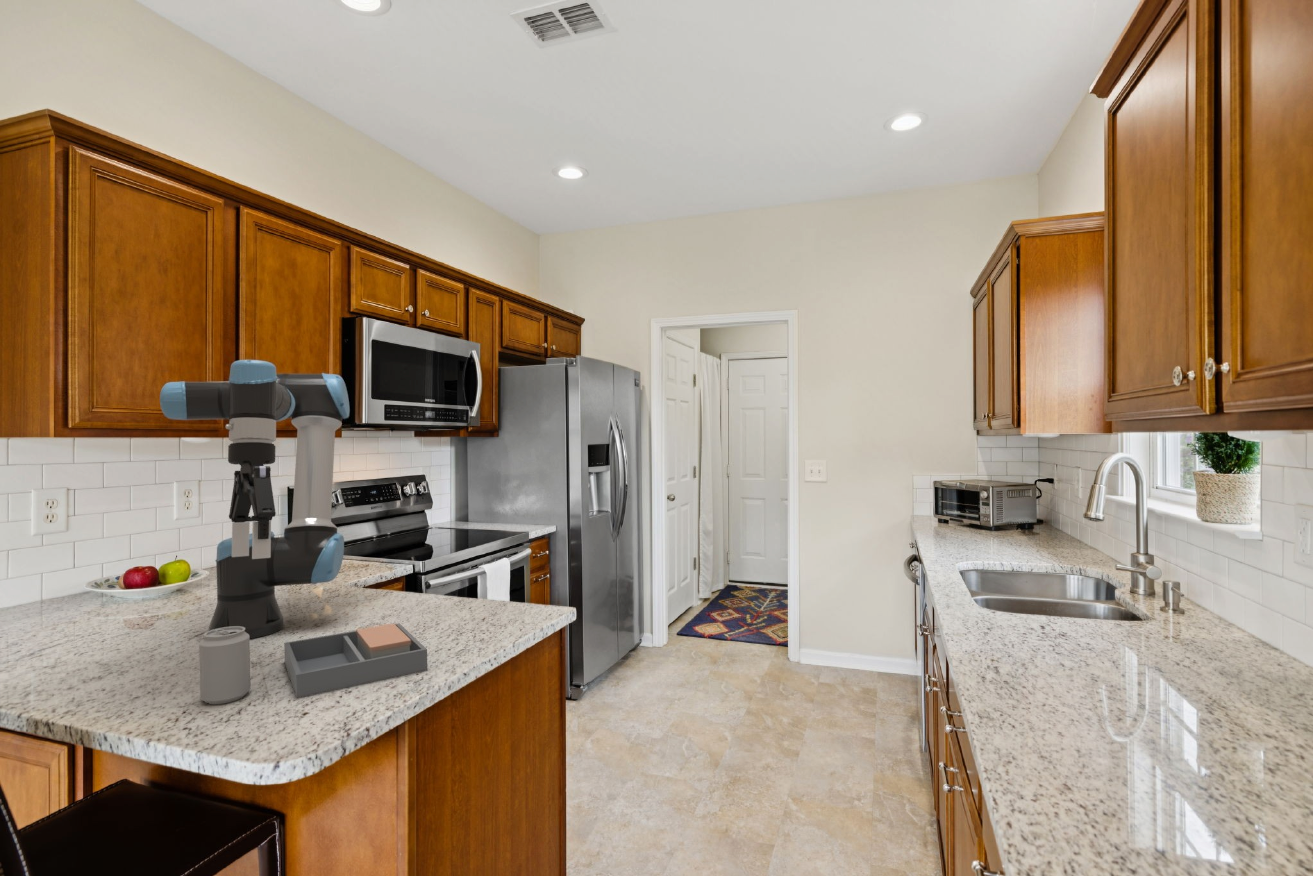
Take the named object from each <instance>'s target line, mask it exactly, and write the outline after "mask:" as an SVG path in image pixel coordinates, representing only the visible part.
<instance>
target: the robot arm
mask: <svg viewBox="0 0 1313 876" xmlns="http://www.w3.org/2000/svg"><path fill="white" fill-rule="evenodd" d="M229 372H230V373H229V377H228V381H227V380H226V381H185V380H183V381H170V382H169V381H168V382H167V383H165V384H164V385H163V386H162V388H161V390H160V392H159V404H160V409H161V412H162V413H163V415H164V417H166V418H168V419H169V420H180V421H181V420H182V421H193V420H195V421H198V420H199V421H200V420H203V421H205V420H229V423H226V424H225V429H226V430H229V431H228V440H229V441H231V442H232V443H230V444H229V445H228V449H227V451H228V453H227V461H228V463H229V464H231V465H239V466H240V470H234V473H233V476H234V478H233V488H232V493H231V494H232V495H231V502H230V509H229V514H228V519H229V520H231V522H232V523H231V524H232V525H231V526H232V527H231V537H229V538H226V539H223V540H221V541H220V542H219V543H218V544H217V547H216V559H215V563H216V566H215V567H216V594H217V595H216V596H217V598H216V599H217V602H216V607H215V609H214V612H213V615H212V617H211V622H210V624H209V625H208V631H210V630H214V629H218V628H223V627H231V626H241V627H244V628H245V632H246V633H247V634H249V636H250V640H251V639H255V638H260V637H264V636H269V635H271V634H274V633H276V632H279V631H280V630H282V629H284V626H285V625H284V619H285V618H284V615H283V613H282V610H281V608H280V606H279V602H278V601H277V598H276V595H275V593H276V591H275V589H276V587H278V586H281V587H282V586H295V585H296V586H297V585H309V584H311V585H316V584H321V583H329V582H332V581H334V580H335V579H336V578H337V576H338V575H339V572H340V570H341V568H342V563H343V560H344V553H345V546H344V545H345V537H344V536H343V535H342V534H341V533H338V527H337V526H336V525H335V524H334V522H332V504H333V503H332V502H333V482H334V461H335V460H334V459H335V443H336V442H335V439H336V431H337V430H338V429H340V428H341V427H342V424H343V423H342V422H343V420H344V419H349V417H350V413H351V412H350V411H351V409H350V401H349V394H348V390H347V386H346V383H345V381H344V379H343V377H342V376H341V375H339V374H337V373H336V374H333V373H325V372H322V373H286V372H285V373H283V372H281V373H277V367H276V365H275V364H273V362H269V361H265V360H261V359H260V360H259V359H258V360H257V359H239V360H235V361H233V362H232V363H231V365H230V371H229ZM286 419H291V421H290V422H291V424H292V426H294V428H296V429H297V432H296V433H297V434H296V435H297V436H296V437H297V438H296V450H295V451H296V452H295V453H296V454H295V465H294V466H295V468H294V486H293V498H292V501H293V502H292V517H291V522H290V523H289V524H288V525H287V526H286V527H284V530H283V531H284V532H283V536H280V537H279V536H278V537H276V536H275V534H274V532H273V531H272V520H273V518H275V517H276V515H277V512H276V507H275V501H274V500H275V499H274V493H273V486H272V481H271V480H272V479H271V478H272V477H271V472H272V471H271V469H272V468H271V466H270V465H272V464H274V463H275V462H276V445H275V444H274V443H273V442H275V441H276V440H277V422H282V421H284V420H286ZM251 508H252V513H253V515H251V516H249V515H250V512H251ZM250 522H252V531H251V532H252V533H250Z"/></svg>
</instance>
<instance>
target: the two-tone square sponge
mask: <svg viewBox="0 0 1313 876" xmlns="http://www.w3.org/2000/svg"><path fill="white" fill-rule="evenodd" d="M395 624H396V623H388V624H387V623H386V624H382V625H381V624H380V625H376V626H371V627H365V628H358V629H355V631H356V634H357V643H358V651H359V653H360V654H361V655H362V657H363V658H364V659H365V660H368V659H373V658H378V657H383V656H389V655H394V654H399V653H404V652H409V651H410V644H411V640H410V639H409V638H408V637H407V636H406V635H405V634H404V633H403V632H402V631H401V630H400V629H399V628H398V627H397V626H396V625H395Z"/></svg>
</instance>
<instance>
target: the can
mask: <svg viewBox="0 0 1313 876" xmlns="http://www.w3.org/2000/svg"><path fill="white" fill-rule="evenodd" d="M203 637H204V638H202V639H201V641H199V643H198V644H199V645H198V648H199V649H198V650H199V652H198V653H199V655H198V657H199V694H200V695H199V699H200V700H202V701H203V702H205V703H206V704H207V703H209V704H208V705H223V704H227V703H231V702H235V701H237V700H240V699H243V698H244V697H245V696H246V694H247V693H249V691H250V690H251V646H250V643H251V642H250V640H251V639H250V636H249V634H247V633H246V632H245V628H244V627H241V626H231V627H223V628H218V629H214V630H210V631H209V630H208V631H206V632H204V633H203Z"/></svg>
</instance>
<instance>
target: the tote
mask: <svg viewBox="0 0 1313 876" xmlns="http://www.w3.org/2000/svg"><path fill="white" fill-rule="evenodd" d="M394 624H395V625H396V626H397V627H398V628H399V629H400V630H401V631H402V632H403V633H404V634H405V635H406V636H407V637H408V638H409V639H410V640H411V644H410V651H409V652H404V653H399V654H394V655H389V656H383V657H378V658H373V659H368V660H365V659H364V658H363V657H362V655H361V654H360V653H359V651H358V643H357V634H356V630H353V631H346V632H345V631H344V632H340V633H339V632H338V633H334V634H328V635H323V636H317V637H310V638H304V639H299V640H298V639H297V640H294V641H293V640H292V641H287V642H284V643H283V645H284V646H283V647H284V654H283V655H284V665H285V667H286V671H287V674H288V677H289V680H290V683H291V687H292V689H293V691H294V694H295V697H296V699H300V698H301V699H302V698H304V697H309V696H314V695H319V694H324V693H329V692H333V691H336V690H337V691H338V690H343V689H347V688H351V687H356V686H360V685H365V684H371V683H374V682H375V683H376V682H379V681H385V680H390V679H394V678H399V677H403V676H407V675H413V674H418V673H421V672H426V671H427V672H428V649H427V648H426V647H425V646H424V645H423V644H422V643H421V642H420V641H419V640H418V639H417V638H415V636H414V635H413V634H412V633H411V632H409V631H408V629H406V628H405V627H404V626H403V625H402V624H401V623H394Z"/></svg>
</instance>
